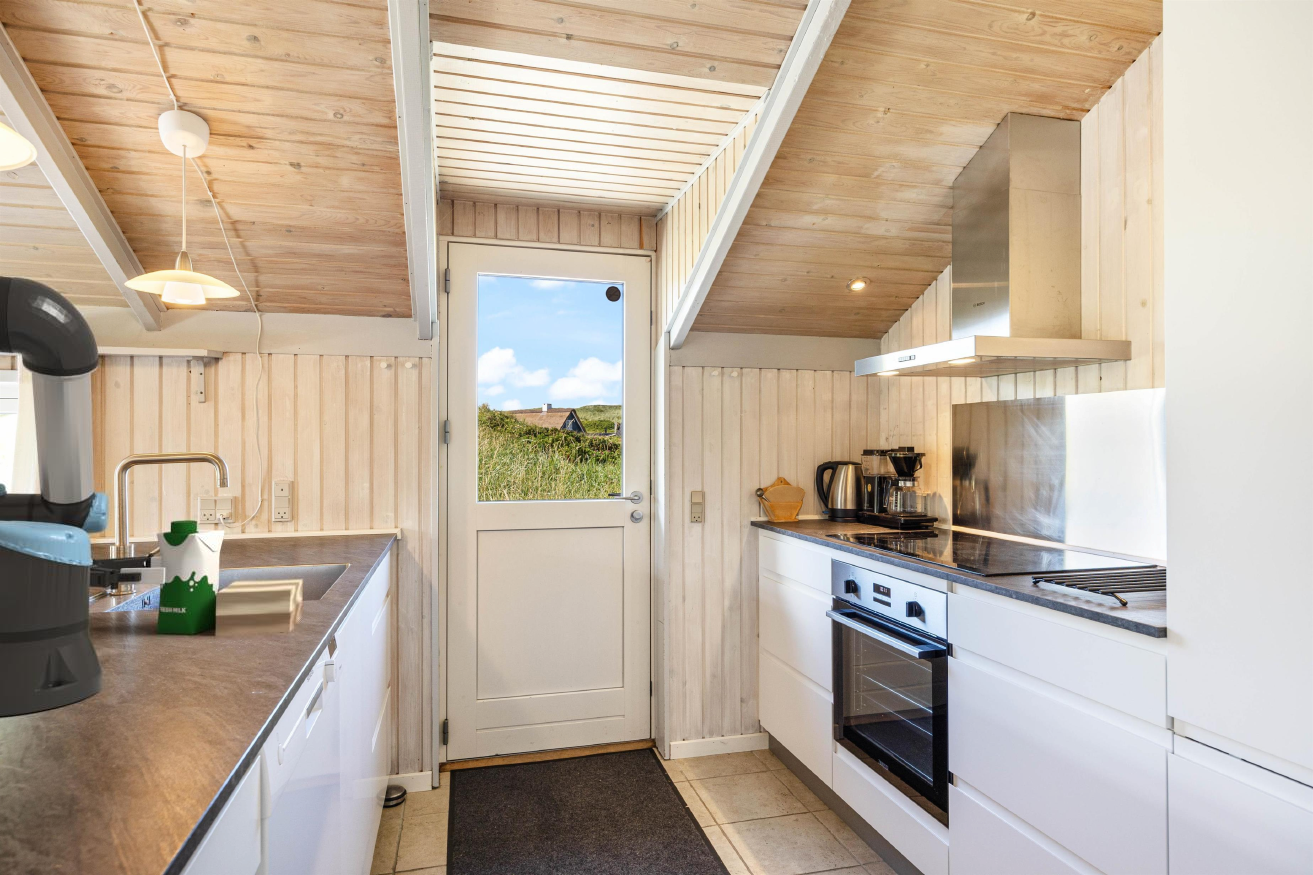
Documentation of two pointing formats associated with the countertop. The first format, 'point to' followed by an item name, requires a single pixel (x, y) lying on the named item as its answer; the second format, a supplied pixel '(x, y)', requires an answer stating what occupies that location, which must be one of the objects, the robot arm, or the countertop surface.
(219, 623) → the block lower
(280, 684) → the countertop surface
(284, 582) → the block upper
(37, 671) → the robot arm
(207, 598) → the fresh milk carton
